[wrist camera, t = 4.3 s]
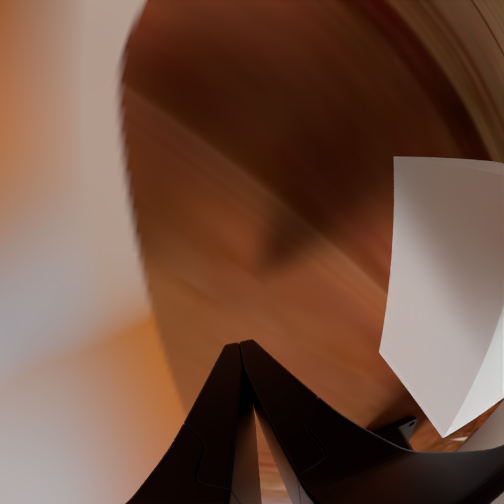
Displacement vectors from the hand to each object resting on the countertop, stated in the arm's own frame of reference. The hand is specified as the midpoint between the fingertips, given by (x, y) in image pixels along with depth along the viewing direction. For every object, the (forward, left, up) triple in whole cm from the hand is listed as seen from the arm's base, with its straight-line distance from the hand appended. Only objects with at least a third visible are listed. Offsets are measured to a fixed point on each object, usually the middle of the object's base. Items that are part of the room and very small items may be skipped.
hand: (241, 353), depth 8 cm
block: (0, -10, -3) cm, 10 cm away
